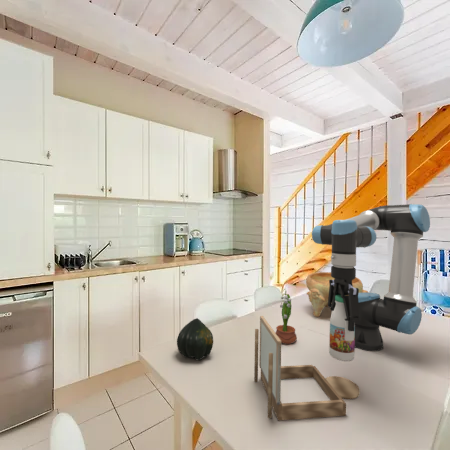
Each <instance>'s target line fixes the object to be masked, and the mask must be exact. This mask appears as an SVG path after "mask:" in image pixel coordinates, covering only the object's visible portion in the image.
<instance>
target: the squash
mask: <svg viewBox="0 0 450 450" xmlns="http://www.w3.org/2000/svg"><path fill="white" fill-rule="evenodd" d="M213 345H214V335H213V333H212V331H211V330H210V329H209V327H207V326H206V324H205V323H203V322H202V320H200V318H198V317H196V318H194V319H192V320H190V321H189V322H188V323H187V324H185V325H184V326H183V327H182V328H181V330H180V331H179V332H178V336H177V338H176V346H177V350H178V352H179V353H180V355H182V356H183V357H184V358H194V359H196V360H197V361H200V360H202V359H203V358H206V357H208V356H209V355H210V354H211V351H212V350H213Z"/></svg>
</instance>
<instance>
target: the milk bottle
mask: <svg viewBox="0 0 450 450" xmlns="http://www.w3.org/2000/svg"><path fill="white" fill-rule="evenodd" d="M345 296H346V295H345ZM335 302H336V306H335V308H334V311H333V312H332V311H331V312H332V314H331V315H330V320H329V339H328V340H329V341H328V343H329V346H328V351H329V352H328V353H329V356H330V357H332V358H333V359H335V360H337V361H342V362H350V361H351V362H352V361H353V360H354V359H355V350H356V349H355V348H356V347H355V325H354V341H346V340H345V319H347V318H346V312H345V307H344V302H343V298H341V295H336V296H335Z"/></svg>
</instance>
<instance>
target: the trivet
mask: <svg viewBox="0 0 450 450" xmlns="http://www.w3.org/2000/svg"><path fill="white" fill-rule="evenodd" d="M324 378H325V379H326V380H327V381H328V382H329V384H330V385H331V386H332V387H333V388H334V389H335V391H336V392H337V393H338V394H339V395H340V397H341V398H342V399H343V400H355V399H357V398H359V397H360V395H361V394H360V392H361V391H360V390H361V389H360V387H359V386H358V385H357V383H355V382H354V381H353V380H351V379H348V378H346V377H342V376H337V375H330V376H327V377H324Z"/></svg>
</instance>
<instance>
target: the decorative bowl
mask: <svg viewBox="0 0 450 450" xmlns="http://www.w3.org/2000/svg"><path fill="white" fill-rule="evenodd" d="M334 279H335V278H333V277H332V276H331V271H330V272H325V271H323V272H322V271H321V272H313V273H310V274H308V276H307V277H306V280H305V284H306V288H307V290H308V291H307V292H306V295H308V300H309V303H310V304H311V307H312V310H313V311H312V314H313V316H314V317H315V318H318V317H320V316H321V314H322V312H323V310H324V309H325V308H329V307H328V297H329V287H330V285H329V280H334ZM352 285H353V287H354V288H358V289H359V293H370V292H369V291H368V290H366V289H364V286H363V282H362V280H361V279H360V278H359V277H357V276H356V278H355V279H353V280H352ZM346 296H348V295H346ZM331 303H332V302H331Z"/></svg>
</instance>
